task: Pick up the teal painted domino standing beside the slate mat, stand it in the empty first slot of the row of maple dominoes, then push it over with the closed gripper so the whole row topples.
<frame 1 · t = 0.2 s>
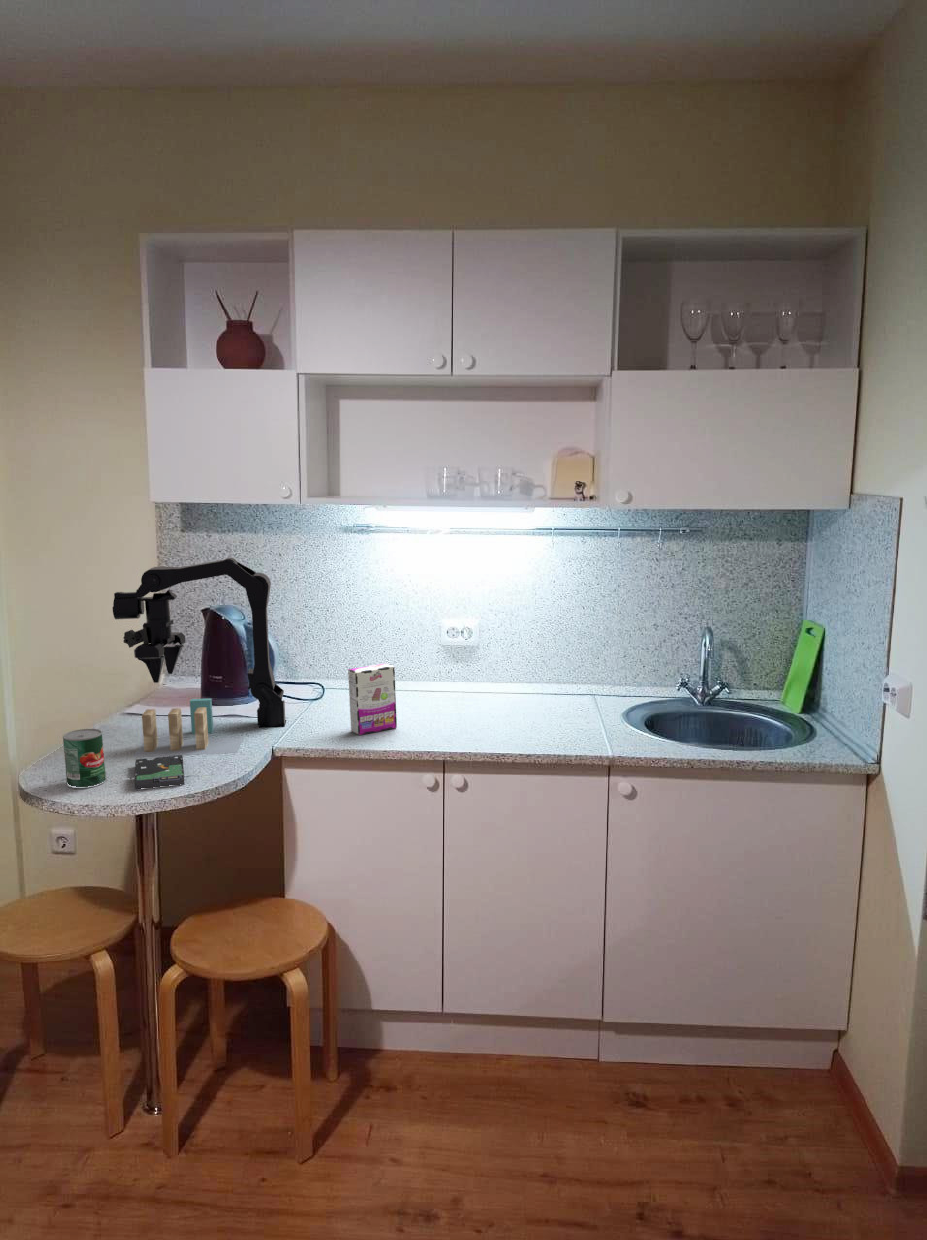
hand: (163, 678, 237), 14 cm above the countertop, tool pointing down, fingers open, 9 cm apart
canned tomato: (86, 783, 202), on the countertop
maple tile 3: (176, 747, 224), resting on slate mat
slate mat: (189, 748, 224), on the countertop
candy bar box: (373, 730, 238), on the countertop
disk drive: (160, 779, 206), on the countertop
maple tile 2: (202, 746, 225), resting on slate mat
maple tile 4: (151, 748, 223), resting on slate mat
teal tile: (202, 734, 236), on the countertop
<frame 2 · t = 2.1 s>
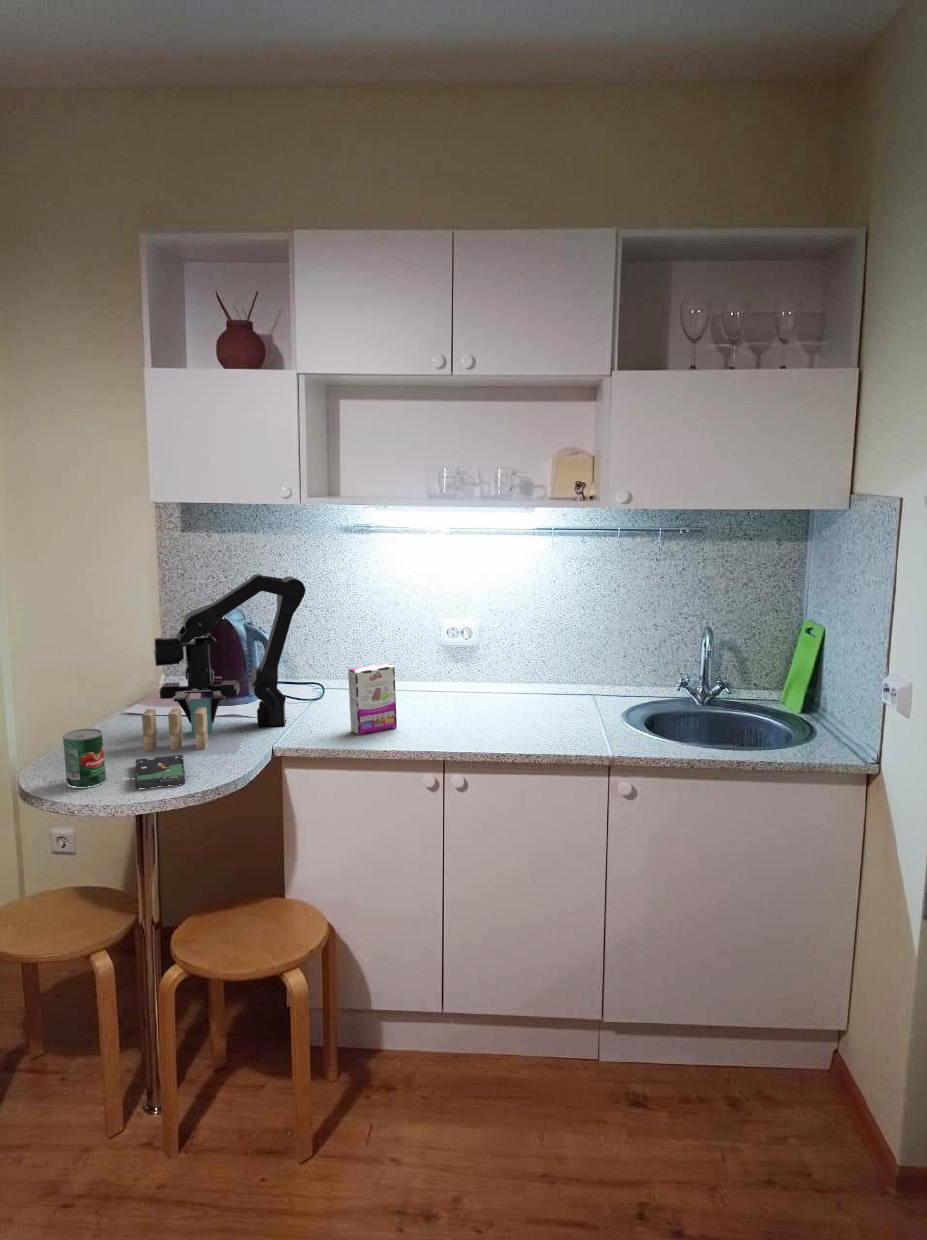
hand: (202, 722, 236), 3 cm above the countertop, tool pointing down, fingers closed on teal tile, 5 cm apart
teal tile: (202, 734, 236), on the countertop, touching gripper
everything else where it was.
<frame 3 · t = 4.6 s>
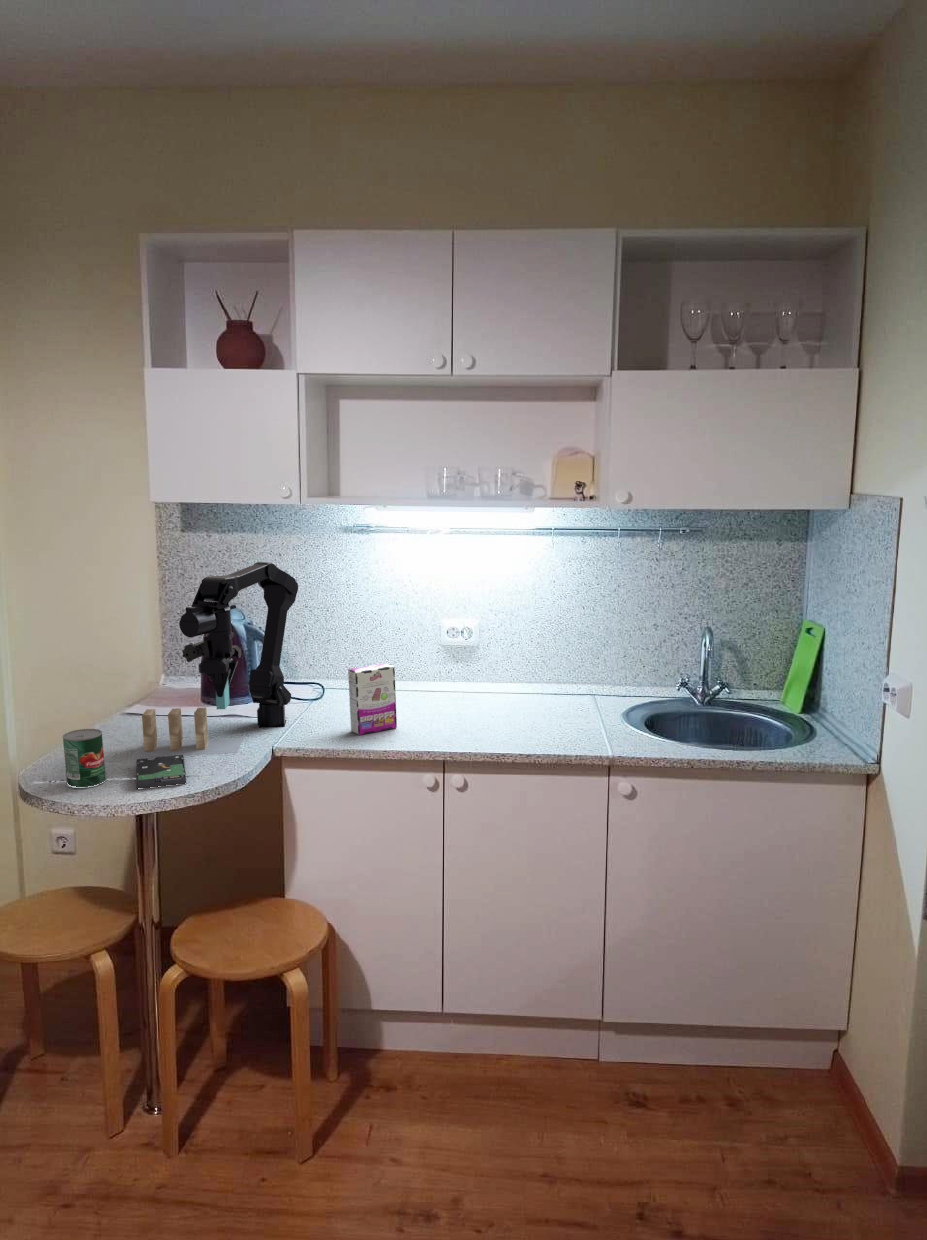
hand: (222, 694, 224), 13 cm above the countertop, tool pointing down, fingers closed on teal tile, 5 cm apart
teal tile: (223, 706, 224), point 10 cm above the countertop, touching gripper
everything else where it was.
when the fingers open (5 cm above the countertop, at t = 7.1 s): teal tile stays where it is, resting on slate mat.
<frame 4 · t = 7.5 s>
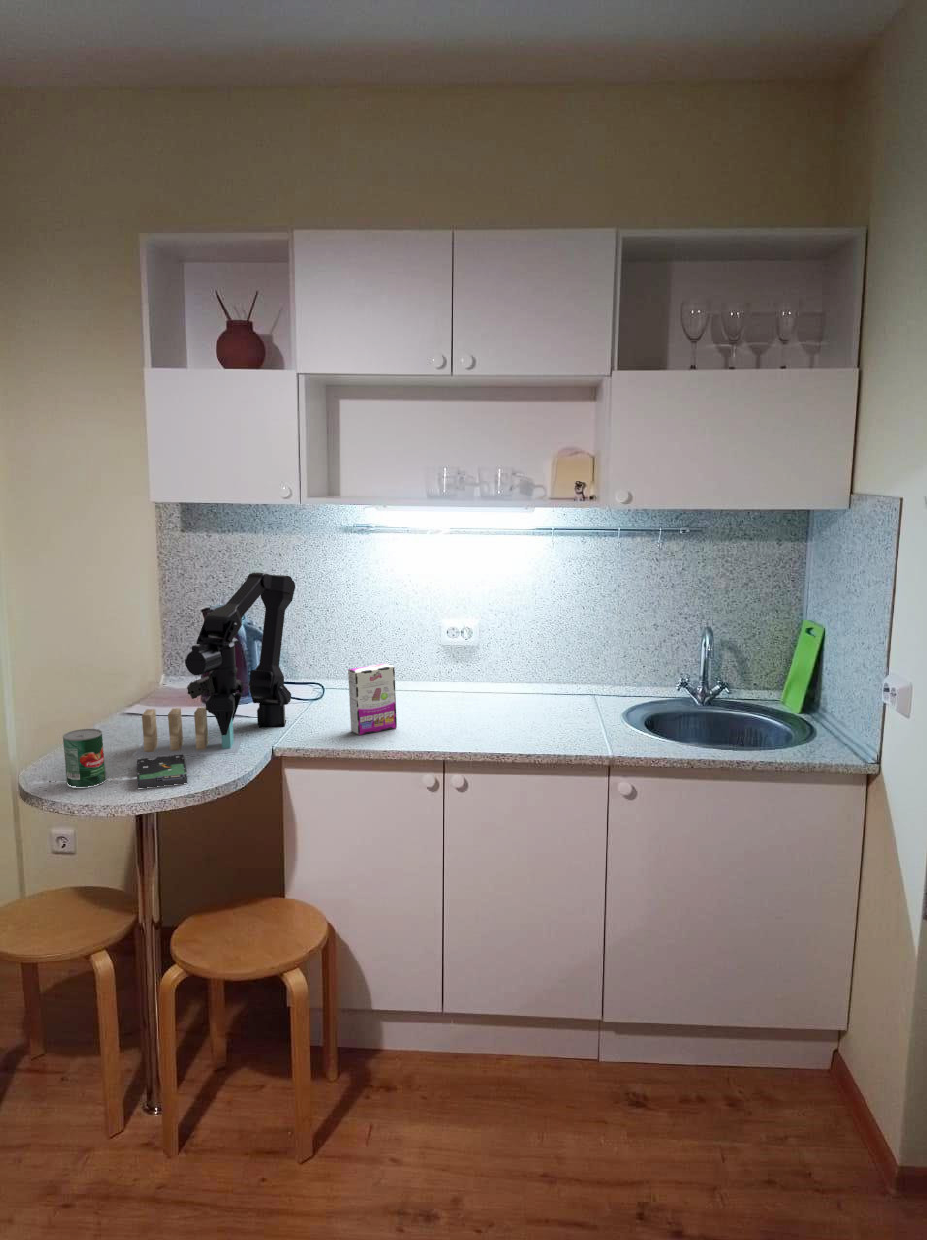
hand: (227, 729, 224), 5 cm above the countertop, tool pointing down, fingers open, 9 cm apart
teal tile: (228, 745, 225), resting on slate mat
everything else where it was.
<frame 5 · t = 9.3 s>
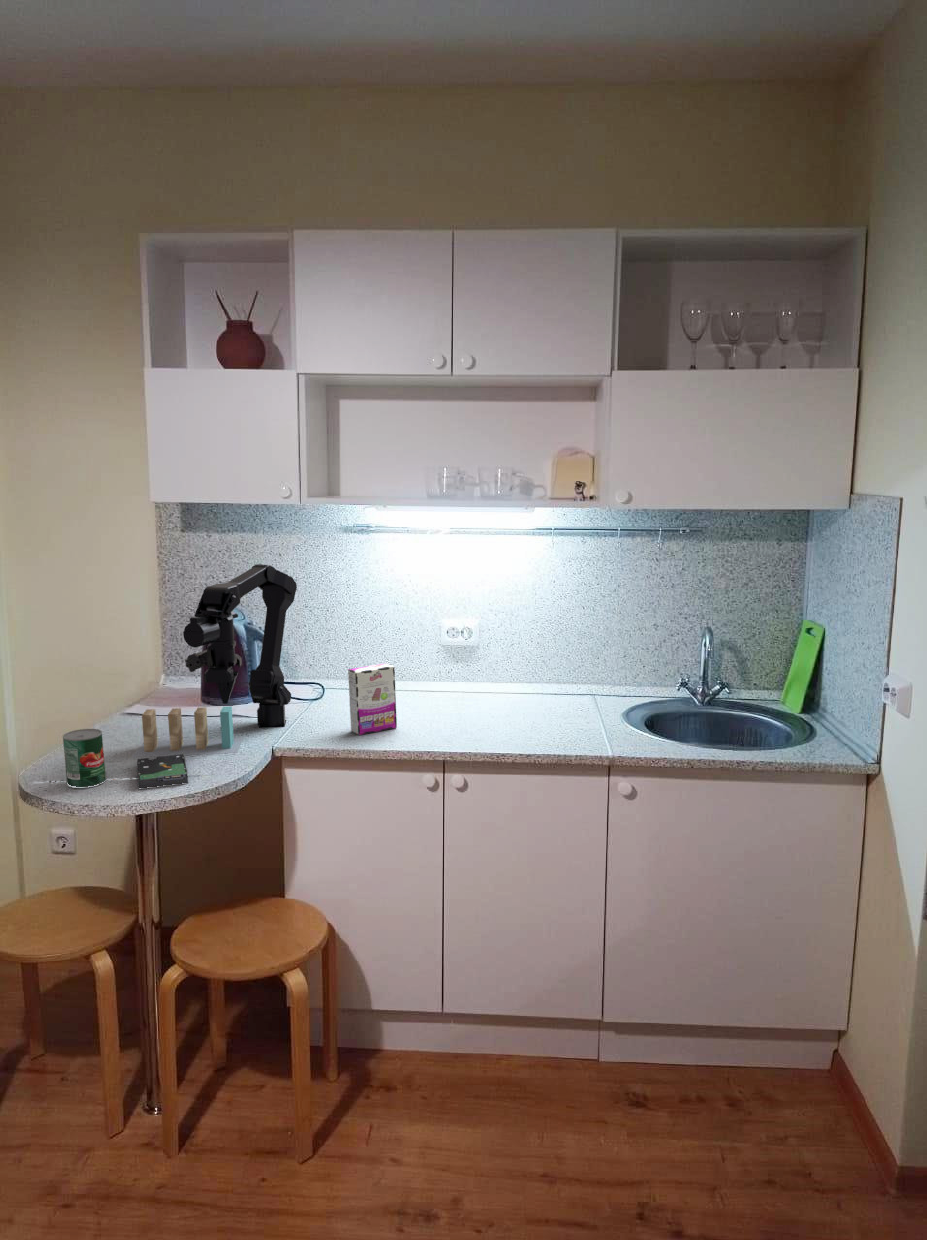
hand: (225, 703, 223), 11 cm above the countertop, tool pointing down, fingers closed
nothing on the countertop moved.
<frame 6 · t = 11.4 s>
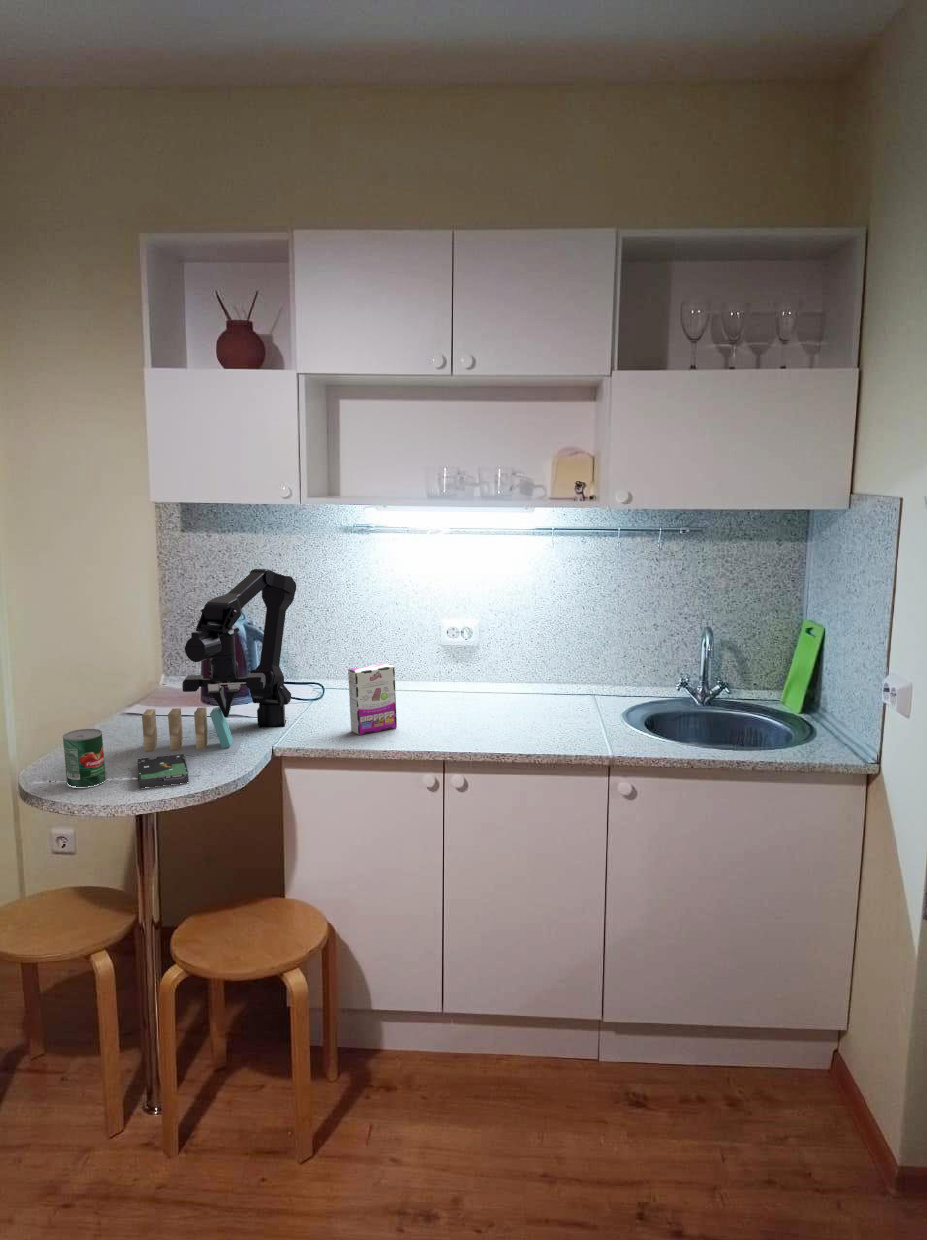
hand: (226, 717, 224), 8 cm above the countertop, tool pointing down, fingers closed
teal tile: (227, 744, 225), point 1 cm above the countertop, tilted 15°, touching slate mat
everything else where it was.
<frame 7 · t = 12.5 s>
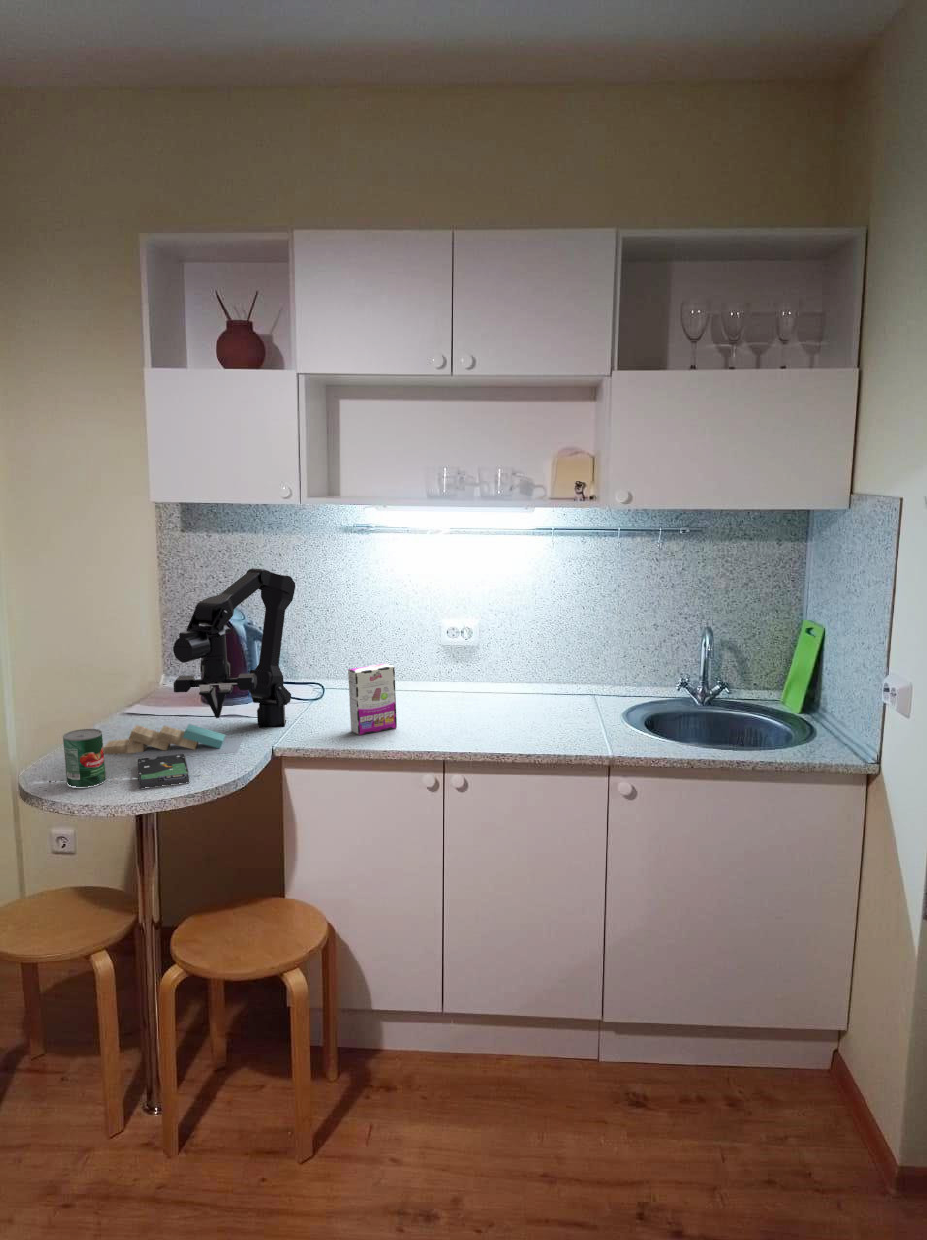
hand: (217, 717, 224), 7 cm above the countertop, tool pointing down, fingers closed
maple tile 3: (169, 743, 224), point 1 cm above the countertop, tilted 68°, touching maple tile 2, maple tile 4, slate mat
maple tile 2: (197, 742, 224), point 1 cm above the countertop, tilted 71°, touching maple tile 3, slate mat, teal tile
maple tile 4: (145, 744, 223), point 2 cm above the countertop, tilted 94°, touching maple tile 3, slate mat
teal tile: (222, 741, 225), point 1 cm above the countertop, tilted 70°, touching maple tile 2, slate mat
everything else where it was.
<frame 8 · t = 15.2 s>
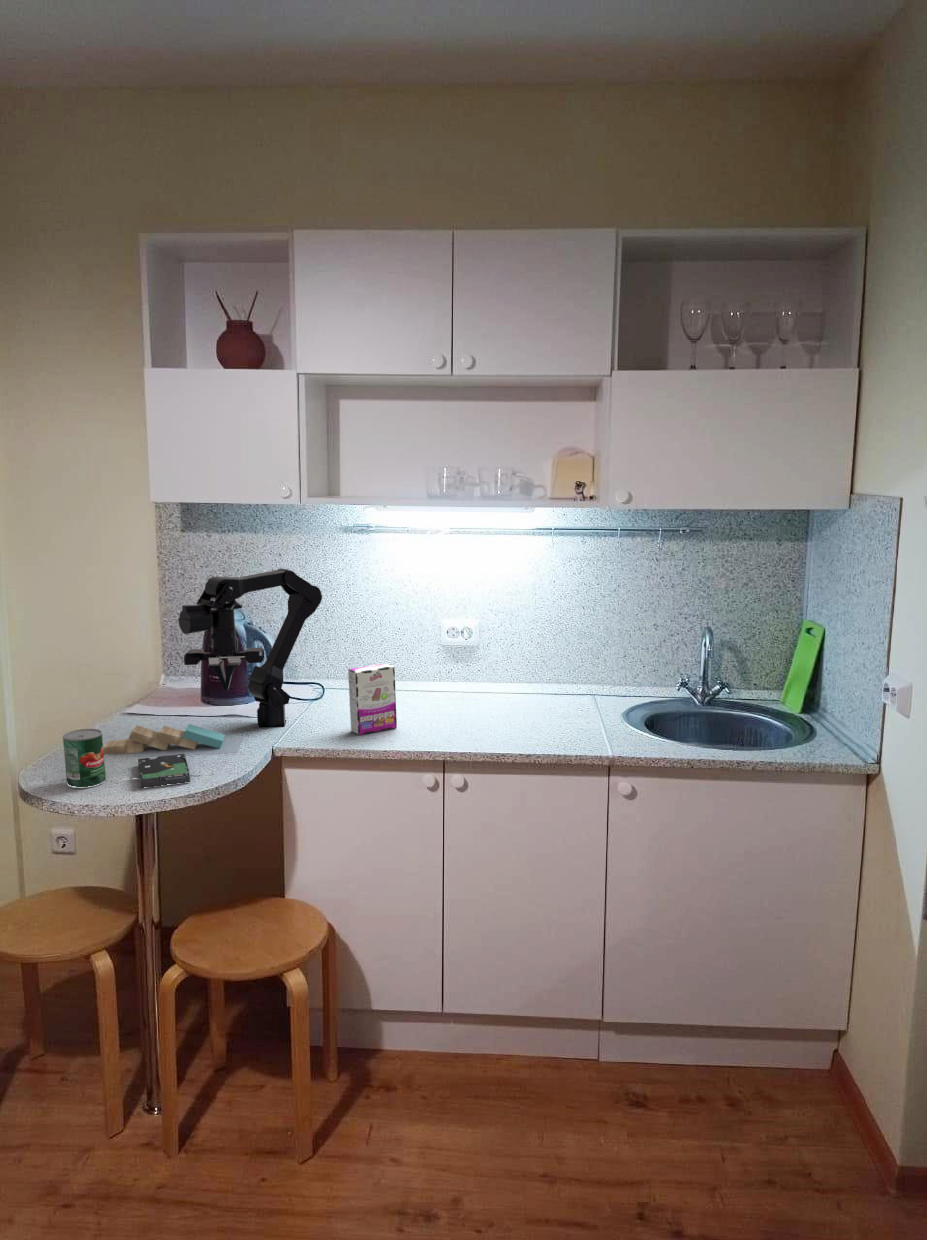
hand: (226, 690, 232), 12 cm above the countertop, tool pointing down, fingers closed
at the end: maple tile 4 tilted 94°; teal tile tilted 70°; teal tile inside the target area (1.3 cm from its centre), point 1.4 cm above the countertop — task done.
